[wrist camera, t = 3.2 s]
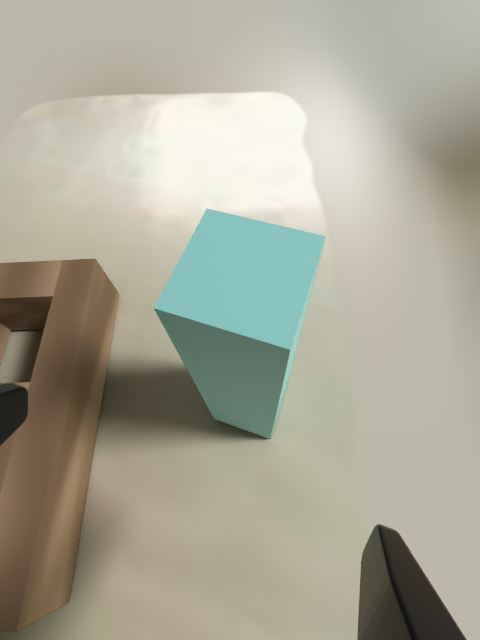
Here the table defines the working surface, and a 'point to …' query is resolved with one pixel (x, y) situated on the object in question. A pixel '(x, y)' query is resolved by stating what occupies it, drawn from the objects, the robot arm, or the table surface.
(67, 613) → the table surface
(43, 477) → the bore block
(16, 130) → the table surface
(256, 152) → the table surface
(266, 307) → the teal square peg
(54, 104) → the table surface
